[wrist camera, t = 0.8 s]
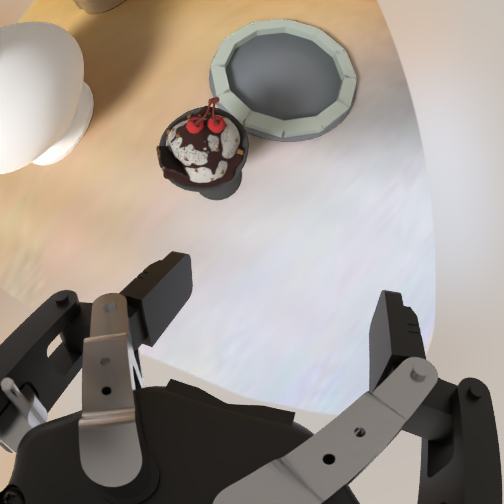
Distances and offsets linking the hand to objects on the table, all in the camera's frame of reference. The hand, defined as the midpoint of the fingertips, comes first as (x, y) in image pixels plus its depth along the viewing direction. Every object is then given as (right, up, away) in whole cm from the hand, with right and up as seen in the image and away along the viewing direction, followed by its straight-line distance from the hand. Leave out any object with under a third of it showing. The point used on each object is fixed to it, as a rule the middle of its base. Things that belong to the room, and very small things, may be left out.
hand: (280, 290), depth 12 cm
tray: (+3, +22, +19) cm, 29 cm away
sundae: (-5, +9, +19) cm, 22 cm away
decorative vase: (-27, +19, +19) cm, 38 cm away
